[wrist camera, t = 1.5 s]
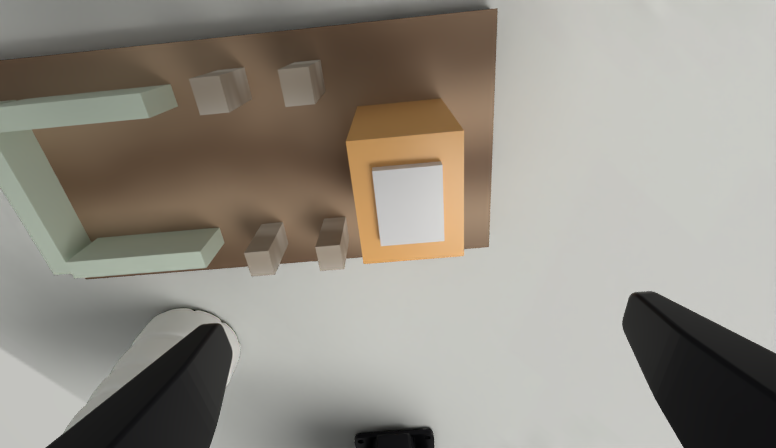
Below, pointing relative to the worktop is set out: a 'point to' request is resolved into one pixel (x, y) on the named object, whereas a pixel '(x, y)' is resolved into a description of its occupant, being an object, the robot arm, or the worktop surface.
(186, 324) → the water bottle
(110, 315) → the worktop surface
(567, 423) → the worktop surface
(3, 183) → the bracket
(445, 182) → the orange upright block
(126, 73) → the board
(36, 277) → the worktop surface
